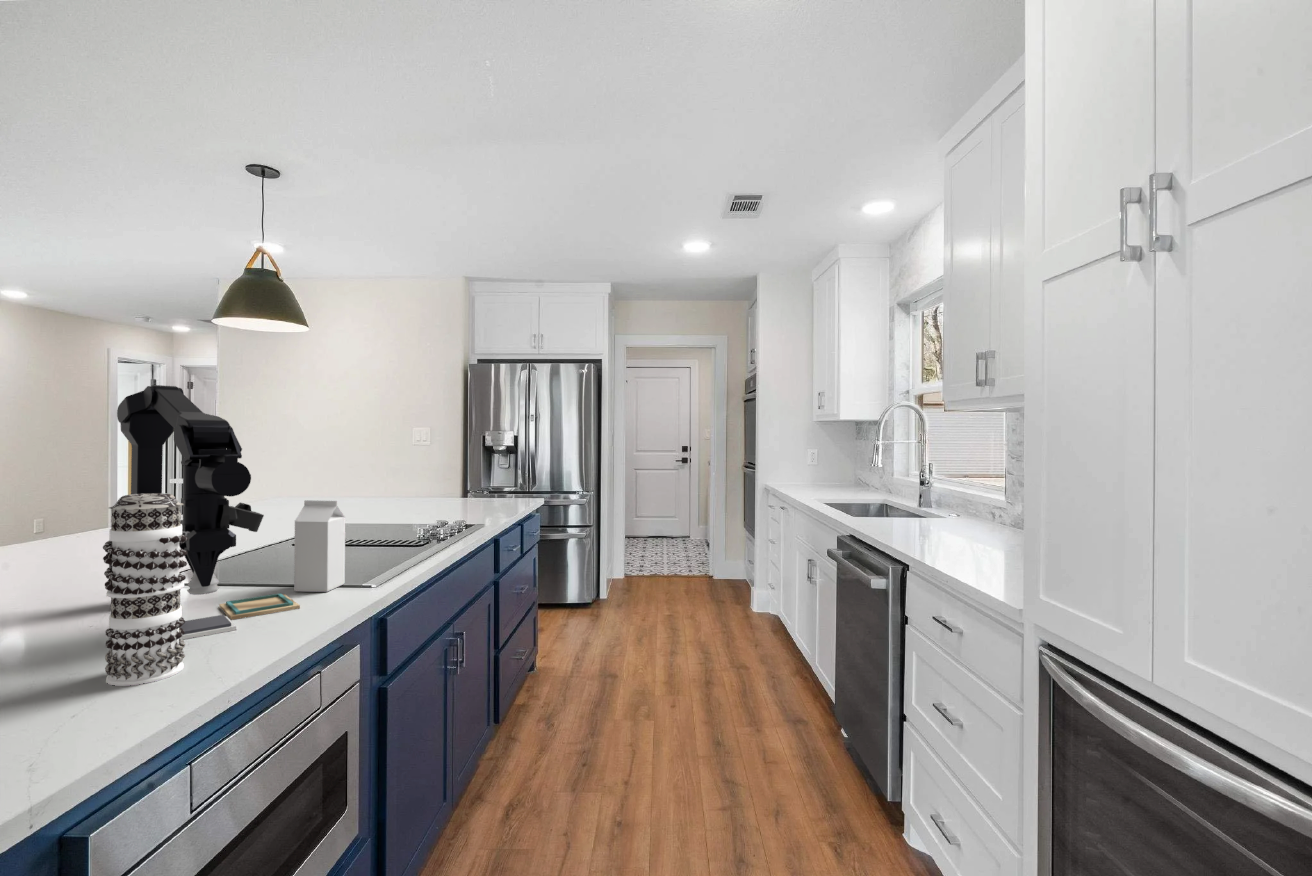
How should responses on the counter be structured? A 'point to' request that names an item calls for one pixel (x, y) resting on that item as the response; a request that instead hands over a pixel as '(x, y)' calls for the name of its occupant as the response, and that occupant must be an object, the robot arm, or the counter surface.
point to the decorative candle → (144, 589)
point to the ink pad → (207, 626)
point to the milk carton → (319, 547)
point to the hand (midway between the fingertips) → (203, 583)
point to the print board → (258, 606)
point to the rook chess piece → (198, 589)
